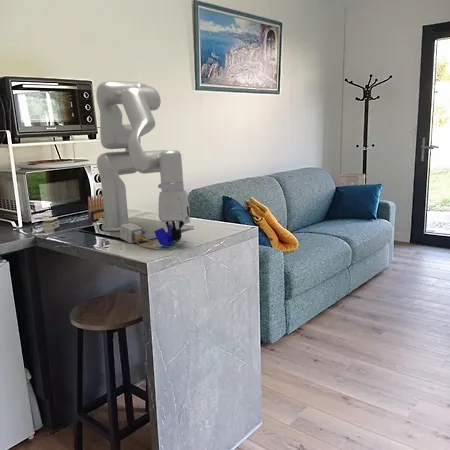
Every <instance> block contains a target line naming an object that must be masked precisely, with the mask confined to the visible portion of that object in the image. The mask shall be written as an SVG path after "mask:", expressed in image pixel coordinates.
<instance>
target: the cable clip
mask: <svg viewBox="0 0 450 450" xmlns="http://www.w3.org/2000/svg"><path fill="white" fill-rule="evenodd" d="M165 226H166V229H167V232H166V230H165V228H164V227H161V228H158V229H156V230H154V232H153V233H154V234H155V236H156V239H157V241H158V242H159V244H160V245H163V246H161V247H164V246H166V245H169V244H170V243H172V242H173V238H172V233H171V229H170V228H169V226H168V225H167V224H165Z"/></svg>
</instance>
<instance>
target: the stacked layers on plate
mask: <svg viewBox="0 0 450 450" xmlns="http://www.w3.org/2000/svg"><path fill="white" fill-rule="evenodd" d="M58 218H59V217H57V216H55V217H54V216H53V217H44V218H42V220H41V221H42V224H41V225H42V226H43V228H42V230H43V233H44V232H45V233H44V234H48V233H47V232H52V233H54V232H55V230H56V229H55V228H58V227H60V224H59V220H58Z"/></svg>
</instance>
